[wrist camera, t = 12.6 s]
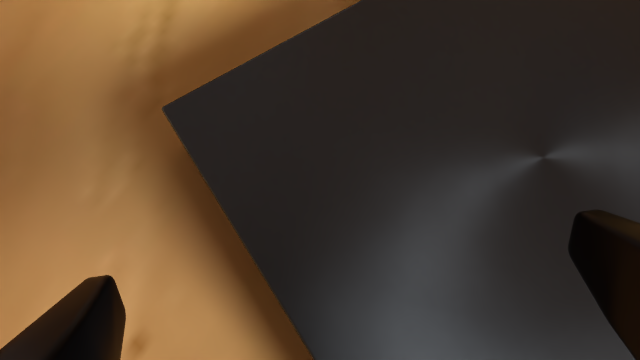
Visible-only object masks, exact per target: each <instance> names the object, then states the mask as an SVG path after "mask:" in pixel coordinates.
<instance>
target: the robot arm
mask: <svg viewBox="0 0 640 360" xmlns="http://www.w3.org/2000/svg"><path fill="white" fill-rule="evenodd" d="M568 252H569V255H570V258H571V260H572V261H573V263H574V265H575V267H576V268H577V270H578V272H579V273H580V275H581V277H582V279H583V280H584V282H585V284H586V285H587V287H588V289H589V291H590V292H591V294H592V296H593V297H594V299H595V301H596V303H597V304H598V306H599V308H600V309H601V311H602V313H603V314H604V316H605V317H606V319H607V321H608V322H609V324H610V325H611V327H612V328H613V329H614V331H615V332H616V334H617V335H618V337H619V338H620V339H621V341H622V342H623V343H624V345H625V346H626V348H627V349H628V350H629V352H630V353H631V354H632V356H633V357H634V359H635V360H640V223H638V222H635V221H632V220H629V219H626V218H624V217H621V216H618V215H615V214H612V213H609V212H606V211H603V210H598V209H595V210H588V211H581V212H579V213H577V214H576V215H575V217H574V221H573V225H572V229H571V234H570V238H569V243H568ZM125 321H126V314H125V308H124V305H123V302H122V299H121V297H120V294H119V291H118V288H117V285H116V283H115V280H114V279H113V277H111V276H109V275H105V276H98V277H91V278H87V279H86V280H84V281H83V282H82V283H81V284H79V285H78V286H77V287H76V288H75V289H73V290H72V291H71V292H70V293H69V294H67V295H66V296H65V297H64V298H62V299H61V300H60V301H59V302H58V303H56V304H55V305H54V306H53V307H51V308H50V309H49V310H48V311H47V312H45V313H44V314H43V315H42V316H41V317H39V318H38V319H37V320H36V321H34V322H33V323H32V324H31V325H30V326H28V327H27V328H26V329H25V330H23V331H22V332H21V333H20V334H19V335H17V336H16V337H15V338H14V339H13V340H11V341H10V342H9V343H8V344H6V345H5V346H4V347H3V348H2V349H0V360H120V358H121V351H122V343H123V336H124V329H125Z"/></svg>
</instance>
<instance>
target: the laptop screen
mask: <svg viewBox="0 0 640 360" xmlns="http://www.w3.org/2000/svg"><path fill="white" fill-rule="evenodd" d="M162 111H163V112H164V114H165V116H166V117H167V119H168V121H169V122H170V124H171V126H172V127H173V129H174V131H175V132H176V134H177V136H178V137H179V139H180V140H181V142H182V144H183V145H184V147H185V149H186V150H187V152H188V154H189V155H190V157H191V159H192V160H193V162H194V164H195V165H196V167H197V168H198V170H199V172H200V173H201V175H202V177H203V178H204V180H205V182H206V183H207V185H208V187H209V188H210V190H211V192H212V193H213V195H214V196H215V198H216V200H217V201H218V203H219V205H220V206H221V208H222V210H223V211H224V213H225V215H226V216H227V218H228V220H229V221H230V223H231V225H232V226H233V228H234V229H235V231H236V233H237V234H238V236H239V238H240V239H241V241H242V243H243V244H244V246H245V248H246V249H247V251H248V253H249V254H250V256H251V257H252V259H253V261H254V262H255V264H256V266H257V267H258V269H259V271H260V272H261V274H262V276H263V277H264V279H265V281H266V282H267V284H268V286H269V287H270V289H271V290H272V292H273V294H274V295H275V297H276V299H277V300H278V302H279V304H280V305H281V307H282V309H283V310H284V312H285V314H286V315H287V317H288V318H289V320H290V322H291V323H292V325H293V327H294V328H295V330H296V332H297V333H298V335H299V337H300V338H301V340H302V342H303V343H304V345H305V346H306V348H307V350H308V351H309V353H310V355H311V356H312V358H313V360H635V359H634V357H633V356H632V354H631V353H630V352H629V350H628V349H627V348H626V346H625V345H624V343H623V342H622V341H621V339H620V338H619V337H618V335H617V334H616V332H615V331H614V329H613V328H612V327H611V325H610V324H609V322H608V321H607V319H606V317H605V316H604V314H603V313H602V311H601V309H600V308H599V306H598V304H597V303H596V301H595V299H594V297H593V296H592V294H591V292H590V291H589V289H588V287H587V285H586V284H585V282H584V280H583V279H582V277H581V275H580V273H579V272H578V270H577V268H576V267H575V265H574V263H573V261H572V260H571V258H570V255H569V252H568V243H569V238H570V234H571V229H572V225H573V221H574V217H575V215H576V214H577V213H579V212H581V211H588V210H595V209H598V210H603V211H606V212H609V213H612V214H615V215H618V216H621V217H624V218H626V219H629V220H632V221H635V222H638V223H640V0H361V1H359V2H357V3H356V4H354V5H352V6H350V7H348V8H346V9H344V10H343V11H341V12H339V13H337V14H335V15H333V16H331V17H330V18H328V19H326V20H324V21H322V22H320V23H318V24H316V25H315V26H313V27H311V28H309V29H307V30H305V31H303V32H302V33H300V34H298V35H296V36H294V37H292V38H290V39H288V40H287V41H285V42H283V43H281V44H279V45H277V46H275V47H274V48H272V49H270V50H268V51H266V52H264V53H262V54H261V55H259V56H257V57H255V58H253V59H251V60H249V61H247V62H246V63H244V64H242V65H240V66H238V67H236V68H234V69H233V70H231V71H229V72H227V73H225V74H223V75H221V76H219V77H218V78H216V79H214V80H212V81H210V82H208V83H206V84H205V85H203V86H201V87H199V88H197V89H195V90H193V91H192V92H190V93H188V94H186V95H184V96H182V97H180V98H178V99H177V100H175V101H173V102H171V103H169V104H167V105H165V106H164V107H162Z"/></svg>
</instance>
